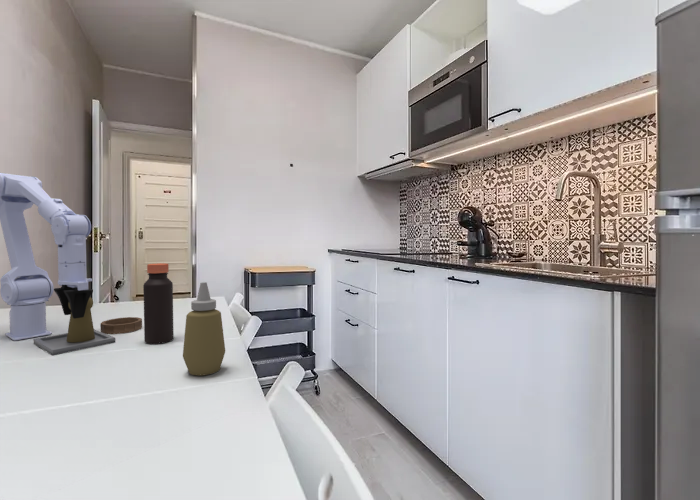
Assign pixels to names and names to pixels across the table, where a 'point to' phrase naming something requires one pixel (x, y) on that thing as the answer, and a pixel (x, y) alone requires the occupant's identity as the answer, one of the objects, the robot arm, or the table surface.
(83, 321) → the pepper mill
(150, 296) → the vinegar
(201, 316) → the squeeze bottle
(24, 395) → the table surface
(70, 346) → the tray
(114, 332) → the ring
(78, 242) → the robot arm
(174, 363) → the table surface
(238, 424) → the table surface
